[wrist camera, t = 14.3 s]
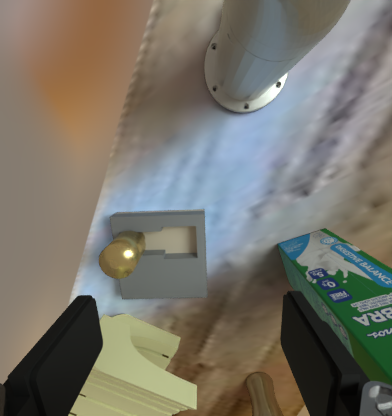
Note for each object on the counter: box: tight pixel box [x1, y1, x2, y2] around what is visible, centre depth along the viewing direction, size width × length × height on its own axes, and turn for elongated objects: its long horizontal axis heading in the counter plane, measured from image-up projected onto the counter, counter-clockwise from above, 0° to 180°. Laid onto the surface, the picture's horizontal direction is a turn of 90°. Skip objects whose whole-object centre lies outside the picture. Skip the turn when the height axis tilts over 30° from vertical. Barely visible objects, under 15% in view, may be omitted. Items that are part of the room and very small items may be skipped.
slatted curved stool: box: [68, 314, 197, 416], centre depth 38 cm, size 30×16×18 cm, turn 153°
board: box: [110, 209, 207, 299], centre depth 39 cm, size 16×16×3 cm
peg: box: [99, 231, 146, 279], centre depth 35 cm, size 5×5×9 cm
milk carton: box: [278, 228, 392, 386], centre depth 28 cm, size 9×9×25 cm
